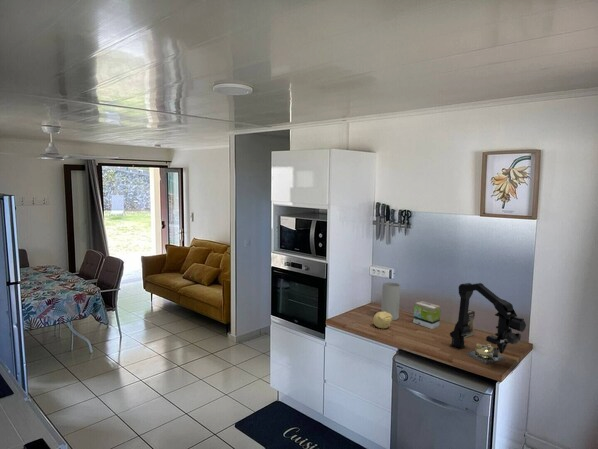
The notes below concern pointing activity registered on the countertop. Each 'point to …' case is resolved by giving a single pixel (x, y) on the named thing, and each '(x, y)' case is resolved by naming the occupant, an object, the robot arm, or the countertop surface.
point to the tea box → (426, 314)
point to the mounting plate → (484, 360)
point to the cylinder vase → (391, 299)
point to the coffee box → (470, 322)
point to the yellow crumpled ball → (382, 319)
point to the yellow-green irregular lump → (487, 351)
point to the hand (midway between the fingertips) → (501, 353)
